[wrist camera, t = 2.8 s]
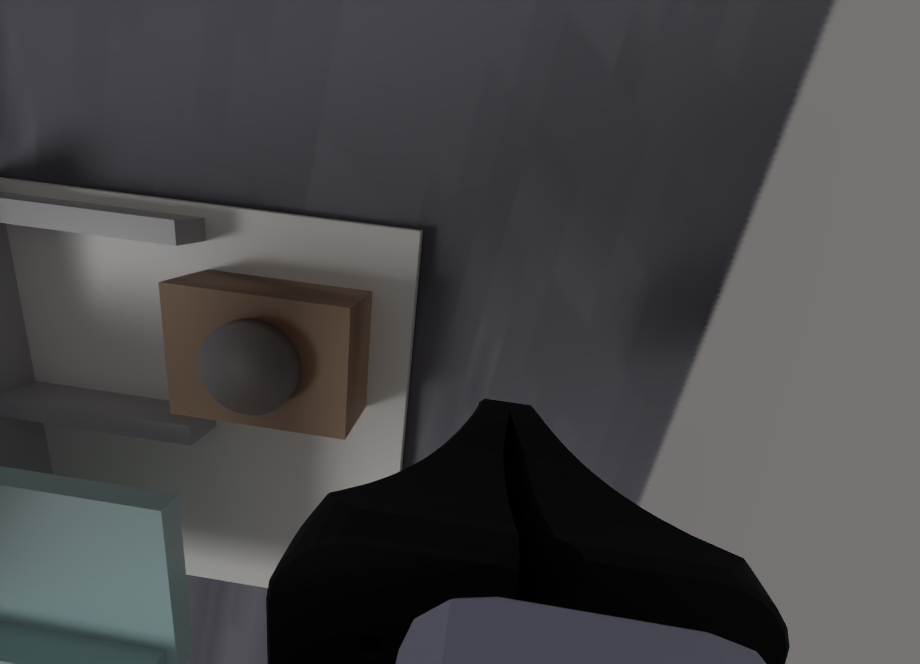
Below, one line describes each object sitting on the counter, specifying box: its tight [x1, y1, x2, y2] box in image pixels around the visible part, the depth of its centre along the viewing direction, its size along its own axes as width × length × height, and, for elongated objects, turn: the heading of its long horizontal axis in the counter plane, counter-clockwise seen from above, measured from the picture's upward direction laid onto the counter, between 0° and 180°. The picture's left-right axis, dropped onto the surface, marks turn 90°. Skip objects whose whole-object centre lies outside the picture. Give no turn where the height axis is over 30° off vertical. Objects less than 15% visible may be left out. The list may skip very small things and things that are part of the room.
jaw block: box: [158, 269, 372, 440], centre depth 15 cm, size 6×4×3 cm
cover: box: [0, 466, 193, 664], centre depth 15 cm, size 9×7×2 cm
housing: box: [0, 177, 423, 588], centre depth 17 cm, size 16×16×4 cm
